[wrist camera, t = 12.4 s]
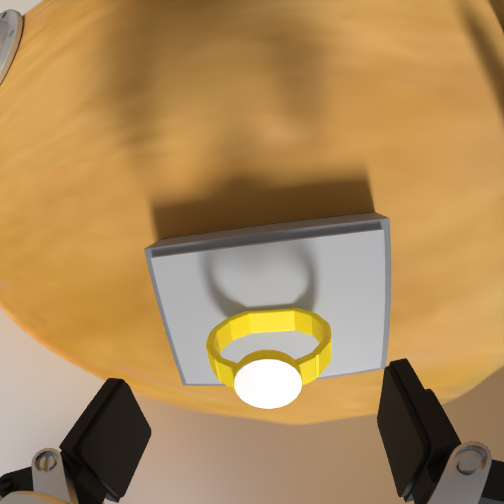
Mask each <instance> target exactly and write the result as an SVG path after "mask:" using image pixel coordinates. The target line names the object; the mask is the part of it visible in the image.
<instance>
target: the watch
mask: <svg viewBox="0 0 504 504" xmlns="http://www.w3.org/2000/svg"><path fill="white" fill-rule="evenodd" d="M293 330H296V331H299V332H302V333H305V334H308V335H311V336H313V337H314V338H315V339H316V340H317V341H318V342H319V345H318V346H317V347H316V348H315V349H314V350H313V351H312V352H311V353H309V354H307V355H305V356H303V357H300V358H298V359H296V360H295V359H294V358H292V357H291V356H289V355H288V354H286V353H284V352H280V351H277V350H266V349H265V350H259V351H254V352H252V353H250V354H248V355H246V356H244V357H243V358H242V359H241V360H240V361H239V362H238V363H236V362H233V361H230V360H228V359H225V358H223V357H222V356H221V355H220V352H221V351H222V350H223V349H224V348H225V347H226V346H227V345H228V344H229V343H230V342H232V341H233V340H236V339H238V338H240V337H243V336H245V335H247V334H250V333H260V332H278V331H293ZM206 350H207V354H208V359H209V363H210V367H211V369H212V371H213V372H214V374H215V375H216V377H217V379H218V380H219V381H221V383H223V384H225V385H228V386H230V387H232V388H234V389H235V391H236V393H237V395H238V396H239V397H240V398H241V399H242V400H243V401H245V402H246V403H248V404H250V405H252V406H255V407H259V408H270V409H271V408H277V407H281V406H284V405H286V404H288V403H290V402H291V401H292V400H294V399H295V398H296V397H297V395H298V394H299V392H300V391H301V387H302V386H303V385H305V384H307V383H309V382H311V381H313V380H315V379H316V378H318V377H319V376H320V375H321V374H322V372H323V371H324V370H325V368H326V367H327V366H328V365H329V363H330V362H331V352H332V337H331V327H330V325H329V323H328V322H327V321H326V320H324V319H323V318H322V317H321V316H319V315H318V314H317V313H315V312H312V311H308V310H304V309H301V308H297V307H296V308H295V307H292V308H287V309H273V310H257V311H244V312H241V313H239V314H236V315H233V316H231V317H228V318H227V319H225V320H223V321H222V322H221V323H220V324H218V325H217V326H216V327H214V328H213V329H212V330H211V331H210V333H209V336H208V339H207V342H206Z"/></svg>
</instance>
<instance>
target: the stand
mask: <svg viewBox="0 0 504 504" xmlns="http://www.w3.org/2000/svg"><path fill="white" fill-rule="evenodd" d="M144 250H145V255H146V259H147V263H148V267H149V272H150V276H151V280H152V284H153V288H154V292H155V295H156V299H157V303H158V306H159V310H160V314H161V317H162V321H163V324H164V327H165V331H166V334H167V337H168V341H169V344H170V347H171V350H172V353H173V356H174V360H175V363H176V366H177V368H178V371H179V374H180V377H181V380H182V383H183V385H192V386H227V385H225V384H223V383H221V381H219V380H218V379H217V377H216V375H215V374H214V372H213V371H212V369H211V367H210V363H209V359H208V354H207V350H206V342H207V339H208V336H209V333H210V331H211V330H212V329H213V328H214V327H216V326H217V325H218V324H220V323H221V322H222V321H223V320H225V319H227V318H228V317H231V316H233V315H236V314H239V313H241V312H244V311H257V310H273V309H287V308H292V307H295V308H296V307H297V308H301V309H304V310H308V311H312V312H315V313H317V314H318V315H319V316H321V317H322V318H323V319H324V320H326V321H327V322H328V323H329V325H330V327H331V337H332V352H331V362H330V363H329V365H328V366H327V367H326V368H325V370H324V371H323V372H322V374H321V375H320V376H319V377H318V378H316V379H324V378H331V377H338V376H345V375H352V374H358V373H364V372H369V371H375V370H380V369H385V367H386V360H387V350H388V338H389V323H390V300H391V245H390V222H389V218H388V217H385V216H383V215H381V214H378V213H376V212H372V213H363V214H354V215H344V216H335V217H327V218H318V219H309V220H301V221H293V222H285V223H277V224H269V225H261V226H253V227H246V228H238V229H231V230H223V231H216V232H209V233H202V234H195V235H188V236H181V237H174V238H168V239H161V240H159V241H157V242H156V243H154V244H152V245H150V246H149V247H147V248H145V249H144ZM318 345H319V342H318V341H317V340H316V339H315V338H314V337H313V336H311V335H308V334H305V333H302V332H299V331H296V330H293V331H278V332H260V333H250V334H247V335H245V336H243V337H240V338H238V339H236V340H233V341H232V342H230V343H229V344H228V345H227V346H226V347H225V348H224V349H223V350H222V351H221V352H220V355H221V356H222V357H223V358H225V359H228V360H230V361H233V362H236V363H238V362H239V361H240V360H241V359H242V358H243V357H244V356H246V355H248V354H250V353H252V352H254V351H259V350H265V349H266V350H277V351H280V352H284V353H286V354H288V355H289V356H291V357H292V358H294V359H295V360H296V359H298V358H300V357H303V356H305V355H307V354H309V353H311V352H312V351H313V350H314V349H315V348H316V347H317V346H318Z"/></svg>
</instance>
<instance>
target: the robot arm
mask: <svg viewBox="0 0 504 504" xmlns="http://www.w3.org/2000/svg"><path fill="white" fill-rule="evenodd" d="M22 25H23V20H22V16H21V14H20V13H19V12H17V11H15V10H7V11H4V12H2V13H1V14H0V84H1V82H2V80H3V79H4V77H5V75H6V73H7V71H8V69H9V67H10V64H11V62H12V60H13V58H14V55H15V52H16V50H17V47H18V44H19V41H20V37H21V33H22ZM377 423H378V428H379V431H380V434H381V437H382V440H383V444H384V447H385V450H386V453H387V457H388V461H389V464H390V467H391V471H392V475H393V478H394V482H395V486H396V489H397V493H398V496H399V497H403V496H404V500H405V502H409V501H412V500H414V503H415V504H504V462H501V461H497V460H493V459H492V455H491V451H490V450H489V449H488V447H487V446H485V445H484V444H483V443H480V442H476V441H470V442H465V443H463V444H462V443H461V441H460V440H459V438H458V436H457V434H456V432H455V430H454V428H453V426H452V424H451V422H450V421H449V419H448V417H447V415H446V413H445V412H444V410H443V408H442V406H441V404H440V403H439V401H438V399H437V397H436V396H435V394H434V392H433V391H432V390H431V389H424V387H423V386H422V384H421V382H420V380H419V379H418V377H417V375H416V373H415V372H414V370H413V368H412V366H411V365H410V363H409V361H408V360H407V359H406V358H404V359H400V360H396V361H391V362H390V364H389V366H387V367H385V370H384V377H383V385H382V392H381V398H380V404H379V410H378V416H377ZM150 436H151V428H150V426H149V424H148V422H147V421H146V419H145V417H144V415H143V413H142V411H141V409H140V407H139V405H138V403H137V401H136V399H135V397H134V395H133V393H132V391H131V389H130V387H129V385H128V384H127V383H126V382H125V381H124V380H123V379H116V378H108V379H107V380H106V382H105V383H104V385H103V386H102V387H101V389H100V390H99V392H98V393H97V394H96V395H95V397H94V398H93V400H92V401H91V402H90V404H89V405H88V406H87V408H86V409H85V411H84V412H83V413H82V415H81V416H80V418H79V419H78V421H77V422H76V423H75V425H74V426H73V428H72V429H71V430H70V432H69V433H68V435H67V436H66V438H65V439H64V440H63V442H62V443H61V445H60V446H59V448H60V449H61V450H62V451H61V452H60V453H59V452H58V451H57V450H55V449H53V448H45V449H42V450H40V451H39V452H37V453H36V455H35V456H34V457H33V459H32V466H31V467H28V468H24V469H21V470H18V471H14V472H10V473H7V474H4V475H3V476H1V477H0V504H104V502H103V501H104V499H105V498H106V499H108V500H110V501H114V502H117V503H118V502H119V500H120V498H121V497H123V496H124V495H125V493H126V490H127V488H128V486H129V484H130V482H131V479H132V477H133V475H134V473H135V470H136V468H137V466H138V464H139V461H140V459H141V457H142V455H143V452H144V450H145V448H146V446H147V443H148V441H149V439H150Z"/></svg>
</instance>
